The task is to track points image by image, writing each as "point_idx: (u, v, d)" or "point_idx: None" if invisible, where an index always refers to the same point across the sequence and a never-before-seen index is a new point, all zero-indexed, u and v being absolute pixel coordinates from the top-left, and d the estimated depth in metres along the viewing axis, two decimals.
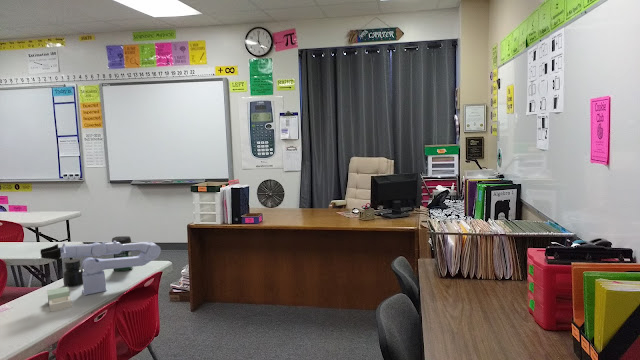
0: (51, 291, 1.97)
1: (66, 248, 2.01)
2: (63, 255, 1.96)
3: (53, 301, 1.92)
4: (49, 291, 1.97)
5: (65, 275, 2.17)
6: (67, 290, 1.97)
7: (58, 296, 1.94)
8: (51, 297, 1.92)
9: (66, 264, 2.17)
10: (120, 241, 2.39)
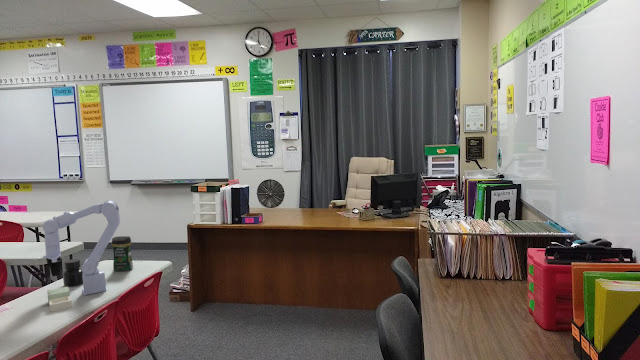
0: (51, 291, 1.97)
1: (48, 255, 2.00)
2: (54, 260, 1.97)
3: (53, 301, 1.92)
4: (49, 291, 1.97)
5: (65, 275, 2.17)
6: (67, 290, 1.97)
7: (58, 296, 1.94)
8: (51, 297, 1.92)
9: (66, 264, 2.17)
10: (120, 241, 2.39)
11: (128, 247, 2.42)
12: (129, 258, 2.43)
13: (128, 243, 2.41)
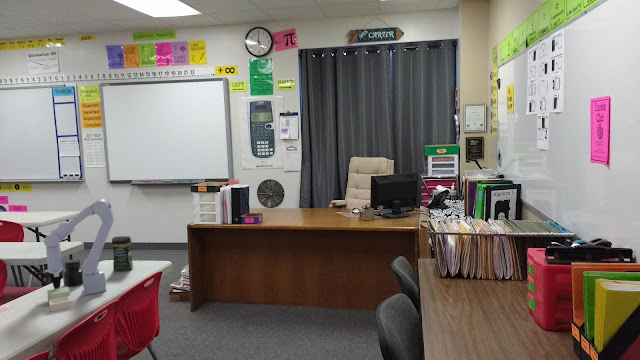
0: (51, 291, 1.97)
1: (50, 269, 2.01)
2: (56, 274, 1.98)
3: (53, 301, 1.92)
4: (49, 291, 1.97)
5: (65, 275, 2.17)
6: (67, 290, 1.97)
7: (58, 296, 1.94)
8: (51, 297, 1.92)
9: (66, 264, 2.17)
10: (120, 241, 2.39)
11: (128, 247, 2.42)
12: (129, 258, 2.43)
13: (128, 243, 2.41)
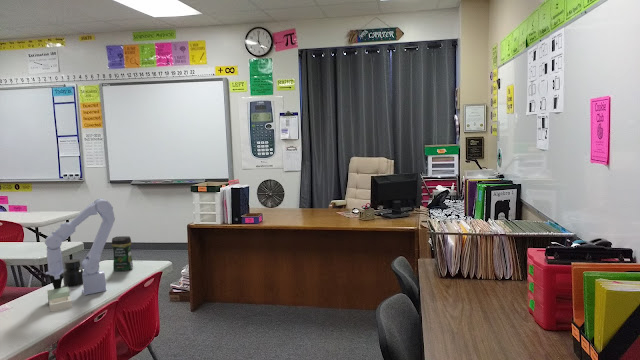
0: (51, 291, 1.97)
1: (51, 271, 1.98)
2: (57, 277, 1.95)
3: (53, 301, 1.92)
4: (49, 291, 1.97)
5: (65, 275, 2.17)
6: (67, 290, 1.97)
7: (58, 296, 1.94)
8: (51, 297, 1.92)
9: (66, 264, 2.17)
10: (120, 241, 2.39)
11: (128, 247, 2.42)
12: (129, 258, 2.43)
13: (128, 243, 2.41)
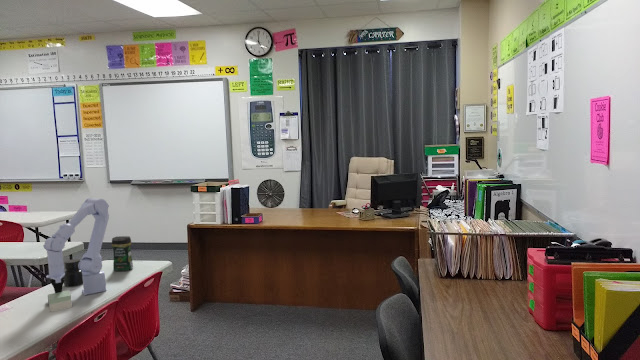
0: (52, 295, 1.92)
1: (52, 275, 1.92)
2: (58, 280, 1.89)
3: None
4: (50, 295, 1.92)
5: (65, 275, 2.17)
6: (68, 294, 1.92)
7: (59, 300, 1.88)
8: (52, 301, 1.87)
9: (66, 264, 2.17)
10: (120, 241, 2.39)
11: (128, 247, 2.42)
12: (129, 258, 2.43)
13: (128, 243, 2.41)
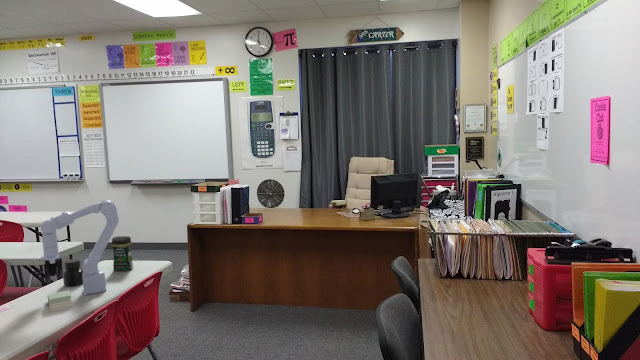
0: (52, 295, 1.92)
1: (46, 256, 1.98)
2: (52, 261, 1.95)
3: None
4: (50, 295, 1.92)
5: (65, 275, 2.17)
6: (68, 294, 1.92)
7: (59, 300, 1.88)
8: (52, 301, 1.87)
9: (66, 264, 2.17)
10: (120, 241, 2.39)
11: (128, 247, 2.42)
12: (129, 258, 2.43)
13: (128, 243, 2.41)
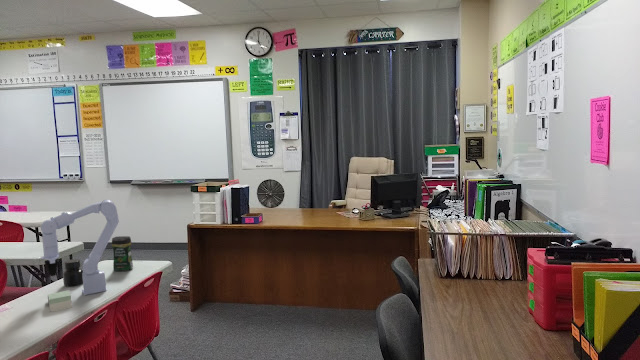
0: (52, 295, 1.92)
1: (46, 256, 1.98)
2: (52, 261, 1.95)
3: None
4: (50, 295, 1.92)
5: (65, 275, 2.17)
6: (68, 294, 1.92)
7: (59, 300, 1.88)
8: (52, 301, 1.87)
9: (66, 264, 2.17)
10: (120, 241, 2.39)
11: (128, 247, 2.42)
12: (129, 258, 2.43)
13: (128, 243, 2.41)
